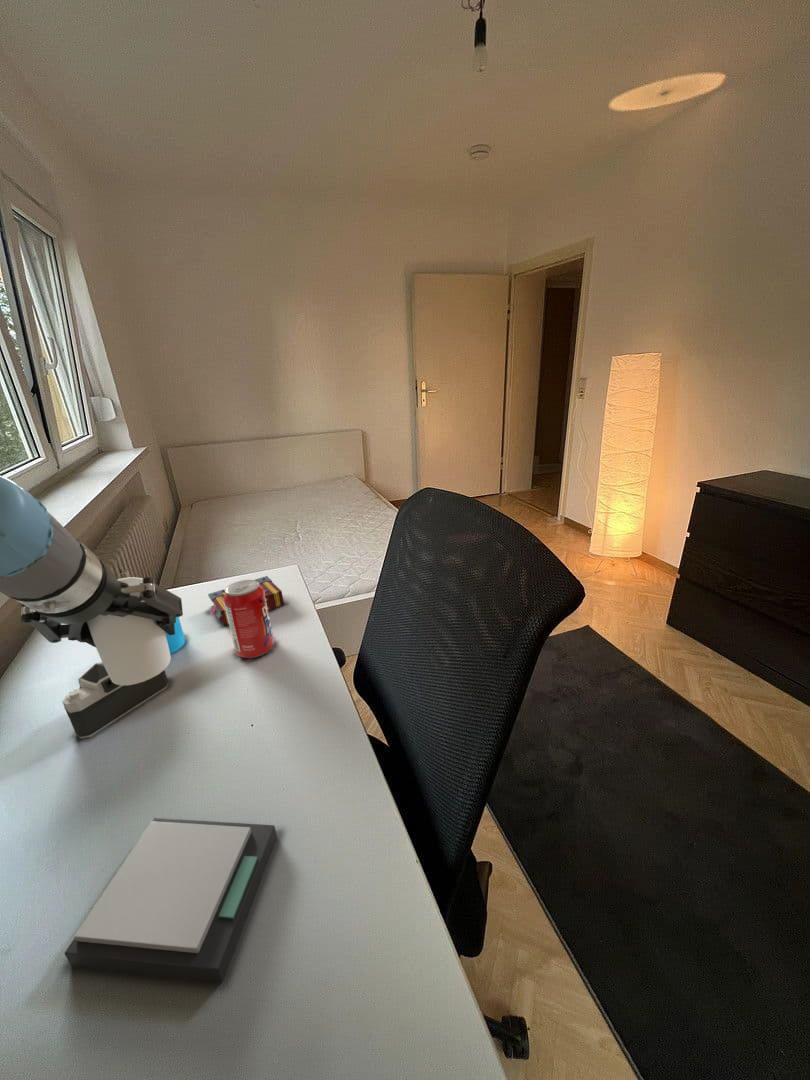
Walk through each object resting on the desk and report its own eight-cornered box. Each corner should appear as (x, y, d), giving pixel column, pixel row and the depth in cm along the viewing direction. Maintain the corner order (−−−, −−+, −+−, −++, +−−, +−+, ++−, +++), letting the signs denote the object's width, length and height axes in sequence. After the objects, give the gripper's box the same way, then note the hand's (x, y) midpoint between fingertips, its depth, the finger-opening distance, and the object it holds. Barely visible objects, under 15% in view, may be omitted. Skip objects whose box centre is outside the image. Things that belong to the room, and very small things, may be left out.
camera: (151, 672, 88) (137, 629, 85) (176, 685, 84) (163, 640, 80) (61, 726, 76) (40, 678, 72) (86, 744, 71) (65, 694, 68)
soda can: (228, 658, 91) (212, 593, 86) (251, 637, 98) (238, 576, 93) (260, 663, 89) (246, 597, 83) (282, 641, 96) (270, 579, 90)
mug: (144, 644, 98) (133, 612, 95) (184, 632, 102) (175, 601, 99) (143, 673, 88) (132, 638, 85) (188, 659, 92) (178, 625, 89)
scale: (71, 967, 44) (60, 948, 43) (159, 830, 57) (152, 813, 56) (223, 984, 42) (215, 964, 41) (277, 838, 55) (273, 820, 54)
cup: (111, 702, 60) (76, 611, 55) (109, 671, 67) (78, 588, 62) (179, 677, 64) (152, 590, 59) (171, 650, 71) (146, 570, 66)
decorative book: (285, 606, 110) (282, 588, 108) (218, 630, 102) (214, 611, 100) (269, 590, 119) (266, 573, 117) (207, 611, 110) (202, 593, 109)
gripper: (-66, 639, 42) (55, 677, 62) (177, 592, 48) (216, 640, 68) (-57, 568, 45) (56, 626, 65) (171, 532, 51) (210, 595, 71)
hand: (138, 633), depth 67 cm, fingers closed on cup, 8 cm apart
